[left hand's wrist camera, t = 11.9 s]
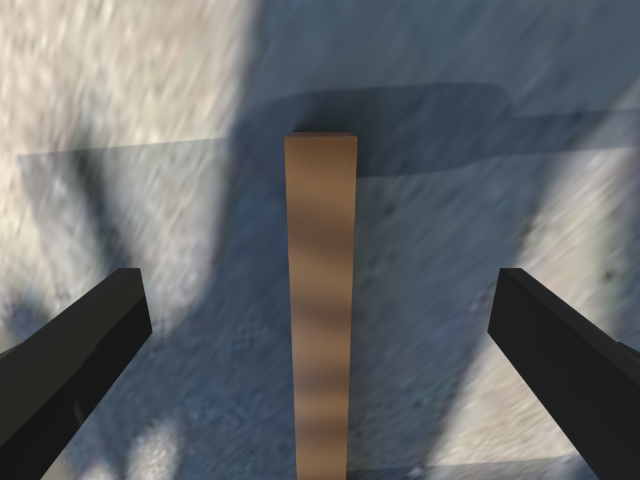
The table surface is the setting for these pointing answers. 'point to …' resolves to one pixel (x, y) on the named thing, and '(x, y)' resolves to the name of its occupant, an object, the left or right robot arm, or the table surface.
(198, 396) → the table surface
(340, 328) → the post
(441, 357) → the table surface
